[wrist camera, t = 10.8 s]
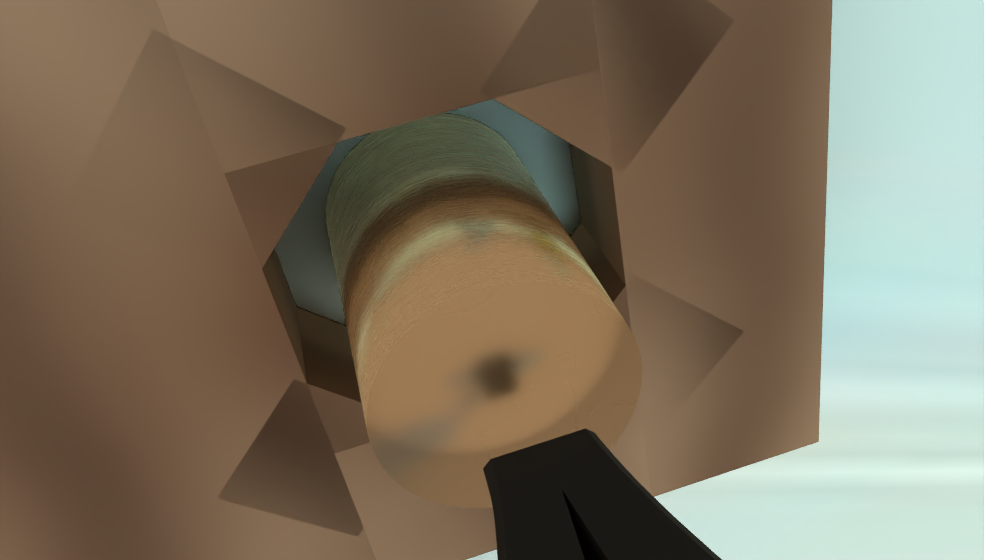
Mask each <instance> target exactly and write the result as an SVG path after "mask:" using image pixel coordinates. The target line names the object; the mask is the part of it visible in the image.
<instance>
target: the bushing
mask: <svg viewBox="0 0 984 560" xmlns="http://www.w3.org/2000/svg"><path fill="white" fill-rule="evenodd" d="M326 223H327V230H328V235H329V240H330V245H331V251H332V256H333V261H334V266H335V271H336V276H337V281H338V286H339V291H340V296H341V301H342V306H343V311H344V316H345V321H346V327H347V332H348V337H349V342H350V347H351V352H352V357H353V362H354V367H355V372H356V377H357V382H358V387H359V392H360V397H361V402H362V408H363V413H364V418H365V423H366V428H367V433H368V437H369V440H370V444H371V447H372V450H373V452H374V454H375V456H376V458H377V460H378V462H379V463H380V464H381V466H382V467H383V469H384V470H385V471H386V472H387V473H388V474H389V475H390V476H391V478H392V479H393V480H394V481H396V482H397V483H398V484H400V485H401V486H402V487H404V488H405V489H406V490H408V491H410V492H412V493H414V494H415V495H417V496H419V497H421V498H424V499H427V500H429V501H432V502H435V503H439V504H443V505H448V506H454V507H462V508H490V507H493V506H492V501H491V497H490V493H489V489H488V486H487V482H486V478H485V474H484V471H483V468H484V467H485V465H486V464H487V463H488V461H489V460H490V459H492V458H495V457H498V456H501V455H504V454H507V453H511V452H514V451H517V450H520V449H523V448H526V447H529V446H532V445H535V444H539V443H542V442H545V441H548V440H551V439H554V438H557V437H560V436H563V435H566V434H570V433H573V432H576V431H579V430H582V429H585V428H586V429H588V430H590V431H592V432H594V433H596V435H597V436H598V437H599V438H600V440H601V441H602V442H603V443H604V444H605V446H606V447H607V448H608V449H610V448H611V447H612V446H613V445H614V443H615V442H616V441H617V439H618V438H619V437H620V435H621V434H622V432H623V431H624V429H625V428H626V426H627V424H628V422H629V421H630V419H631V417H632V414H633V412H634V410H635V407H636V405H637V401H638V398H639V394H640V390H641V382H642V361H641V356H640V351H639V347H638V345H637V342H636V340H635V337H634V335H633V333H632V332H631V330H630V328H629V327H628V325H627V324H626V322H625V320H624V319H623V317H622V316H621V314H620V313H619V311H618V310H617V308H616V307H615V305H614V304H613V302H612V300H611V299H610V297H609V296H608V294H607V293H606V291H605V290H604V288H603V287H602V285H601V284H600V282H599V280H598V279H597V277H596V276H595V274H594V273H593V271H592V270H591V268H590V267H589V265H588V264H587V262H586V260H585V259H584V257H583V256H582V254H581V253H580V251H579V250H578V248H577V247H576V245H575V244H574V242H573V241H572V239H571V237H570V236H569V234H568V233H567V231H566V230H565V228H564V227H563V225H562V224H561V222H560V221H559V219H558V217H557V216H556V214H555V213H554V211H553V210H552V208H551V207H550V205H549V204H548V202H547V201H546V199H545V198H544V196H543V194H542V193H541V191H540V190H539V188H538V187H537V185H536V184H535V182H534V181H533V179H532V178H531V176H530V174H529V173H528V171H527V170H526V168H525V167H524V165H523V164H522V162H521V161H520V159H519V158H518V156H517V154H516V153H515V151H514V150H513V149H512V147H511V146H510V145H509V144H508V143H507V142H506V140H505V139H503V138H502V137H501V136H500V135H499V134H498V133H497V132H495V131H494V130H492V129H491V128H489V127H488V126H486V125H484V124H482V123H480V122H478V121H476V120H473V119H470V118H467V117H464V116H460V115H454V114H448V113H440V114H436V115H433V116H429V117H425V118H422V119H418V120H415V121H411V122H407V123H404V124H400V125H397V126H393V127H390V128H386V129H382V130H379V131H375V132H372V133H371V134H369V135H367V136H366V137H365V138H364V139H363V140H361V141H360V142H359V143H358V144H357V145H356V146H355V147H354V148H353V149H352V150H351V151H350V152H349V153H348V155H347V156H346V157H345V159H344V160H343V161H342V163H341V164H340V166H339V168H338V169H337V171H336V173H335V175H334V177H333V180H332V183H331V185H330V188H329V192H328V197H327V202H326Z"/></svg>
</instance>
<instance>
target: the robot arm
mask: <svg viewBox="0 0 984 560" xmlns="http://www.w3.org/2000/svg"><path fill="white" fill-rule="evenodd" d="M483 471H484V474H485V478H486V482H487V486H488V489H489V493H490V497H491V501H492V506H493V513H494V521H495V529H496V542H497V554H498V560H722V559H721V558H719V557H718V556H717V555H716V554H715V553H714V552H712V551H711V550H710V549H709V548H708V547H707V546H706V545H705V544H704V543H703V542H701V541H700V540H699V539H698V538H697V537H696V536H695V535H694V534H693V533H691V532H690V531H689V530H688V529H687V528H686V527H685V526H684V525H683V524H681V523H680V522H679V521H678V520H677V519H676V518H675V517H674V516H673V515H672V514H671V513H670V512H669V511H668V510H666V509H665V508H664V507H663V506H662V505H661V504H660V503H659V502H658V501H657V500H656V499H655V498H654V497H653V496H652V495H651V494H650V493H649V492H648V491H647V490H646V489H645V488H644V487H643V486H642V485H641V484H640V483H639V482H638V481H637V480H636V479H635V478H634V476H633V475H632V474H631V473H630V472H629V471H628V470H627V469H626V468H625V467H624V466H623V465H622V464H621V463H620V461H619V460H618V459H617V458H616V457H615V456H614V455H613V454H612V452H611V451H610V450H609V449H608V448H607V447H606V446H605V444H604V443H603V442H602V441H601V440H600V438H599V437H598V436H597V435H596V433H594V432H592V431H590V430H588V429H586V428H585V429H582V430H579V431H576V432H573V433H570V434H566V435H563V436H560V437H557V438H554V439H551V440H548V441H545V442H542V443H539V444H535V445H532V446H529V447H526V448H523V449H520V450H517V451H514V452H511V453H507V454H504V455H501V456H498V457H495V458H492V459H490V460H489V461H488V463H487V464H486V465H485V467H484V468H483Z"/></svg>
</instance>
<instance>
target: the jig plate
mask: <svg viewBox="0 0 984 560" xmlns="http://www.w3.org/2000/svg"><path fill="white" fill-rule="evenodd" d="M831 24H832V0H0V560H466V559H469V558H472V557H475V556H478V555H481V554H484V553H487V552H490V551H493V550H496V549H497V542H496V529H495V521H494V513H493V507H490V508H462V507H454V506H448V505H443V504H439V503H435V502H432V501H429V500H427V499H424V498H421V497H419V496H417V495H415V494H414V493H412V492H410V491H408V490H406V489H405V488H404V487H402V486H401V485H400V484H398V483H397V482H396V481H394V480H393V479H392V478H391V476H390V475H389V474H388V473H387V472H386V471H385V470H384V469H383V467H382V466H381V464H380V463H379V462H378V460H377V458H376V456H375V454H374V452H373V450H372V447H371V444H370V440H369V437H368V433H367V428H366V423H365V418H364V413H363V408H362V402H361V397H360V392H359V387H358V382H357V377H356V372H355V367H354V362H353V357H352V352H351V347H350V342H349V337H348V332H347V327H346V326H344V325H342V324H339V323H336V322H334V321H331V320H329V319H326V318H324V317H321V316H319V315H316V314H314V313H311V312H309V311H306V310H303V309H301V308H298V307H296V304H295V301H294V299H293V296H292V294H291V291H290V288H289V286H288V283H287V280H286V278H285V275H284V272H283V270H282V267H281V264H280V262H279V259H278V257H277V254H276V251H275V249H274V248H275V246H276V245H277V243H278V241H279V240H280V238H281V236H282V235H283V233H284V231H285V230H286V228H287V226H288V225H289V223H290V221H291V220H292V218H293V216H294V215H295V213H296V211H297V210H298V208H299V206H300V205H301V203H302V201H303V200H304V198H305V196H306V195H307V193H308V191H309V190H310V188H311V186H312V185H313V183H314V181H315V180H316V178H317V176H318V175H319V173H320V171H321V170H322V168H323V166H324V165H325V163H326V161H327V160H328V158H329V156H330V155H331V153H332V151H333V150H334V148H335V146H336V144H337V143H338V142H339V141H343V140H346V139H350V138H354V137H357V136H361V135H364V134H368V133H372V132H375V131H379V130H382V129H386V128H390V127H393V126H397V125H400V124H404V123H407V122H411V121H415V120H418V119H422V118H425V117H429V116H433V115H436V114H440V113H443V112H447V111H451V110H454V109H458V108H461V107H465V106H469V105H472V104H476V103H479V102H483V101H487V100H490V99H495V100H496V101H498V102H500V103H502V104H503V105H505V106H507V107H508V108H510V109H512V110H514V111H515V112H517V113H519V114H521V115H522V116H524V117H526V118H527V119H529V120H531V121H533V122H534V123H536V124H538V125H540V126H541V127H543V128H545V129H546V130H548V131H550V132H552V133H553V134H555V135H557V136H559V137H560V138H562V139H564V140H565V141H567V142H569V143H570V150H571V157H572V164H573V170H574V177H575V184H576V191H577V198H578V204H579V211H580V218H581V223H580V225H579V226H578V227H577V229H576V230H575V231H574V233H573V234H572V236H571V239H572V241H573V242H574V244H575V245H576V247H577V248H578V250H579V251H580V253H581V254H582V256H583V257H584V259H585V260H586V262H587V264H588V265H589V267H590V268H591V270H592V271H593V273H594V274H595V276H596V277H597V279H598V280H599V282H600V284H601V285H602V287H603V288H604V290H605V291H606V293H607V294H608V296H609V297H610V299H611V300H612V302H613V304H614V305H615V307H616V308H617V310H618V311H619V313H620V314H621V316H622V317H623V319H624V320H625V322H626V324H627V325H628V327H629V328H630V330H631V332H632V333H633V335H634V337H635V340H636V342H637V345H638V347H639V351H640V356H641V361H642V382H641V390H640V394H639V398H638V401H637V405H636V407H635V410H634V412H633V414H632V417H631V419H630V421H629V422H628V424H627V426H626V428H625V429H624V431H623V432H622V434H621V435H620V437H619V438H618V439H617V441H616V442H615V443H614V445H613V446H612V447H611V448H610V449H609V450H610V451H611V452H612V454H613V455H614V456H615V457H616V458H617V459H618V460H619V461H620V463H621V464H622V465H623V466H624V467H625V468H626V469H627V470H628V471H629V472H630V473H631V474H632V475H633V476H634V478H635V479H636V480H637V481H638V482H639V483H640V484H641V485H642V486H643V487H644V488H645V489H646V490H647V491H648V492H649V493H650V494H651V495H652V496H653V497H654V496H657V495H660V494H663V493H666V492H669V491H672V490H675V489H678V488H681V487H684V486H687V485H690V484H693V483H696V482H699V481H702V480H705V479H708V478H711V477H714V476H717V475H720V474H723V473H726V472H729V471H732V470H735V469H738V468H741V467H744V466H747V465H750V464H753V463H756V462H759V461H762V460H765V459H768V458H771V457H774V456H777V455H780V454H783V453H786V452H789V451H792V450H795V449H798V448H801V447H804V446H807V445H810V444H813V443H816V442H818V440H819V408H820V376H821V344H822V312H823V280H824V248H825V216H826V184H827V152H828V120H829V88H830V56H831Z"/></svg>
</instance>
